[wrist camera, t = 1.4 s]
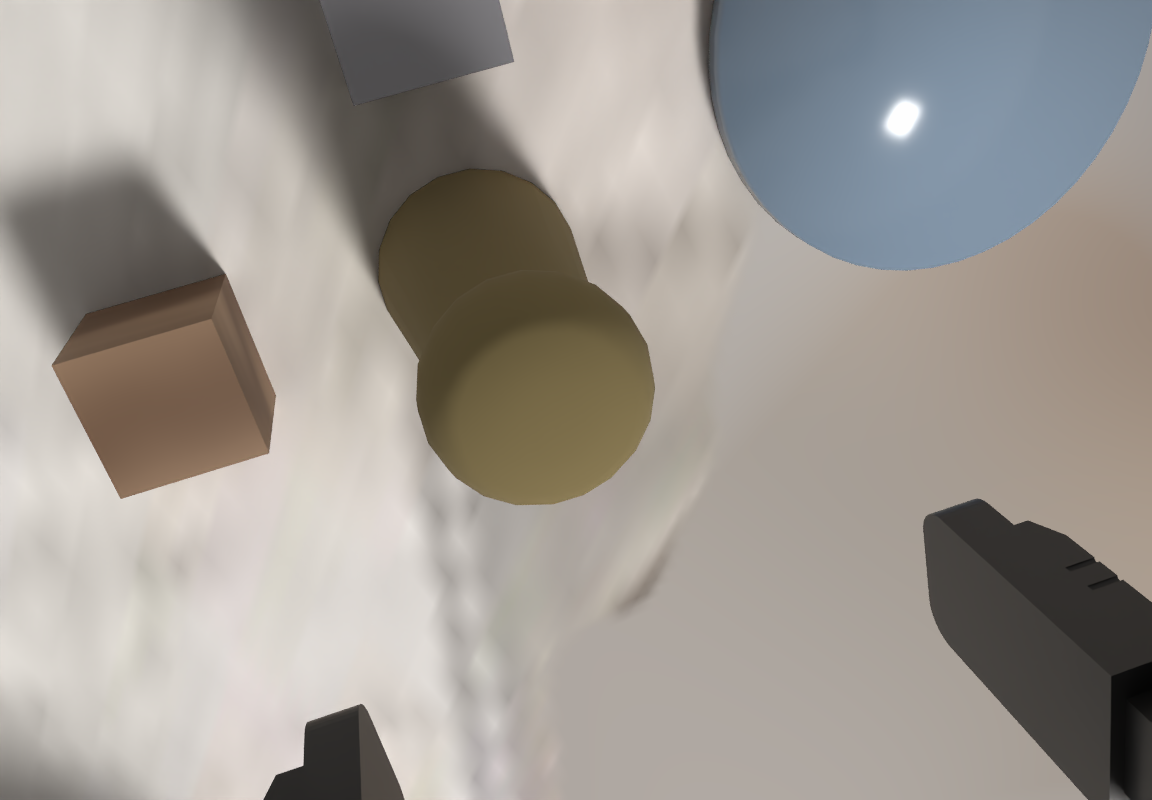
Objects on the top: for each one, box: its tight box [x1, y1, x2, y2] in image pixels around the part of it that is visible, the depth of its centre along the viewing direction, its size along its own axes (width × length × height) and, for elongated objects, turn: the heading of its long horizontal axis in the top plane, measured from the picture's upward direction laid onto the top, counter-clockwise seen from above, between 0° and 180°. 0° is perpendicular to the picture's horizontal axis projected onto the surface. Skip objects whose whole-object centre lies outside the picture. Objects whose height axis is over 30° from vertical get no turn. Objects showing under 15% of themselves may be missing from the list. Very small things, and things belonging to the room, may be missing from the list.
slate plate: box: [709, 0, 1152, 270], centre depth 30 cm, size 14×14×1 cm
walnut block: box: [52, 274, 276, 499], centre depth 28 cm, size 4×4×4 cm
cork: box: [378, 169, 655, 505], centre depth 25 cm, size 6×6×11 cm
